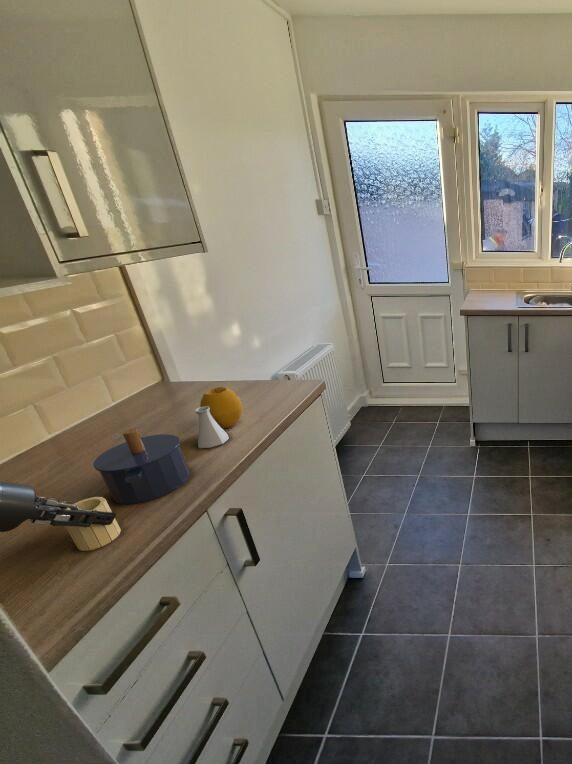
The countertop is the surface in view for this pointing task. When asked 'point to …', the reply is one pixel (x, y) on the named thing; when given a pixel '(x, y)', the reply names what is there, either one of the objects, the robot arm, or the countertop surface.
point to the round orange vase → (223, 406)
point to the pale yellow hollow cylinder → (94, 527)
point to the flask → (209, 429)
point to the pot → (148, 479)
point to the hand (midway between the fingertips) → (100, 515)
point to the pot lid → (136, 451)
